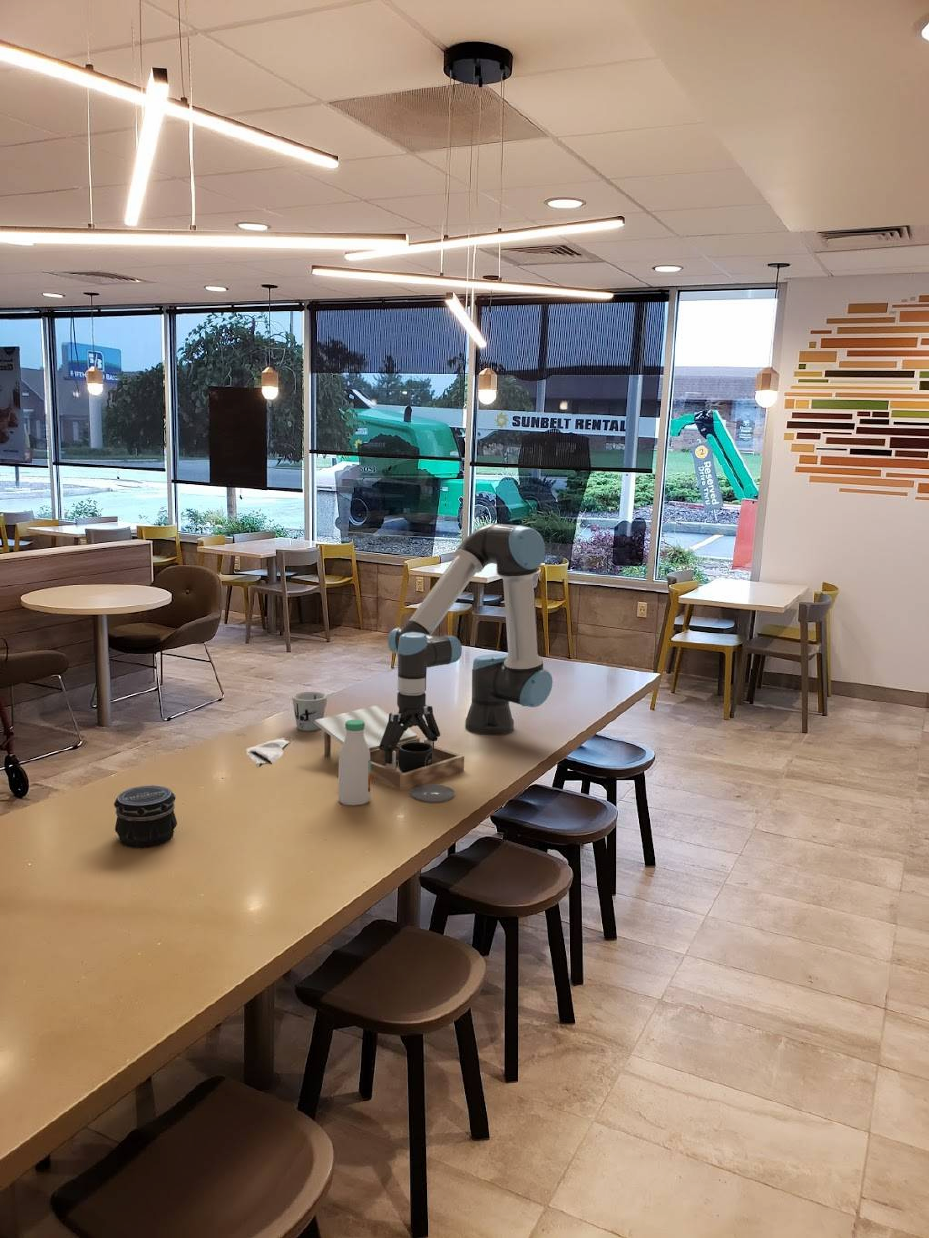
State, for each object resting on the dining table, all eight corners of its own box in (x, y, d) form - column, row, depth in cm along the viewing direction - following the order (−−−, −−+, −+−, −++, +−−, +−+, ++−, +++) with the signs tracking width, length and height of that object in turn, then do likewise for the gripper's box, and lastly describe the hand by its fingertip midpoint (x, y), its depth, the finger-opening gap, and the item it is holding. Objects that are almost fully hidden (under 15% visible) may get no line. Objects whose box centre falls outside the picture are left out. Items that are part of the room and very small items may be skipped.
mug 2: (437, 769, 251) (438, 744, 250) (423, 780, 243) (424, 754, 241) (397, 763, 255) (397, 738, 254) (382, 773, 247) (382, 747, 246)
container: (142, 855, 194) (140, 810, 192) (102, 840, 201) (100, 796, 199) (189, 835, 205) (188, 792, 203) (150, 821, 211) (149, 779, 209)
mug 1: (285, 729, 282) (285, 697, 280) (311, 717, 296) (311, 686, 294) (315, 734, 278) (315, 702, 276) (340, 721, 292) (340, 690, 290)
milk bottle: (364, 807, 223) (365, 727, 219) (334, 804, 224) (334, 724, 221) (374, 796, 230) (375, 718, 227) (344, 793, 232) (344, 716, 228)
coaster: (432, 783, 240) (432, 781, 240) (463, 794, 233) (463, 792, 233) (401, 793, 232) (401, 791, 232) (432, 806, 225) (432, 803, 225)
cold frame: (374, 739, 275) (375, 705, 273) (463, 770, 251) (464, 733, 249) (314, 756, 259) (314, 719, 257) (403, 790, 235) (403, 750, 233)
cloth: (267, 738, 276) (267, 730, 275) (310, 743, 272) (310, 735, 272) (222, 765, 251) (222, 757, 251) (268, 771, 247) (268, 763, 247)
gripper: (434, 681, 256) (432, 755, 260) (366, 696, 238) (365, 775, 242) (454, 687, 251) (452, 762, 255) (386, 702, 233) (384, 783, 237)
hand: (409, 769), depth 249 cm, fingers open, 13 cm apart
